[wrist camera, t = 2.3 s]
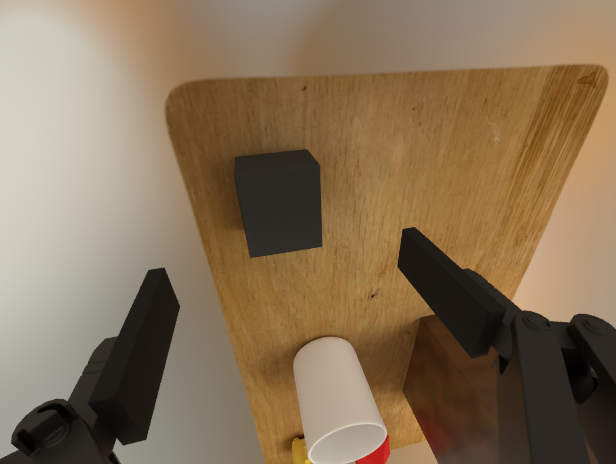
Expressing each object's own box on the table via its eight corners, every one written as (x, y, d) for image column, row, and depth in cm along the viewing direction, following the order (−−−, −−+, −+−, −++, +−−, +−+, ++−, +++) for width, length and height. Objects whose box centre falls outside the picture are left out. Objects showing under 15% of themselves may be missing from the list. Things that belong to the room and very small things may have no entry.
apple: (380, 450, 44) (362, 495, 45) (405, 443, 48) (388, 484, 48) (352, 416, 50) (336, 456, 50) (376, 412, 54) (362, 450, 54)
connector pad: (235, 157, 23) (233, 174, 19) (307, 149, 23) (320, 164, 20) (249, 230, 26) (250, 258, 22) (311, 221, 27) (322, 246, 23)
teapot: (323, 447, 52) (330, 482, 47) (292, 455, 51) (297, 491, 46) (323, 425, 47) (331, 461, 43) (289, 433, 47) (294, 471, 42)
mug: (335, 388, 43) (360, 475, 33) (278, 363, 37) (290, 459, 28) (378, 357, 41) (417, 439, 32) (325, 324, 35) (354, 414, 26)
